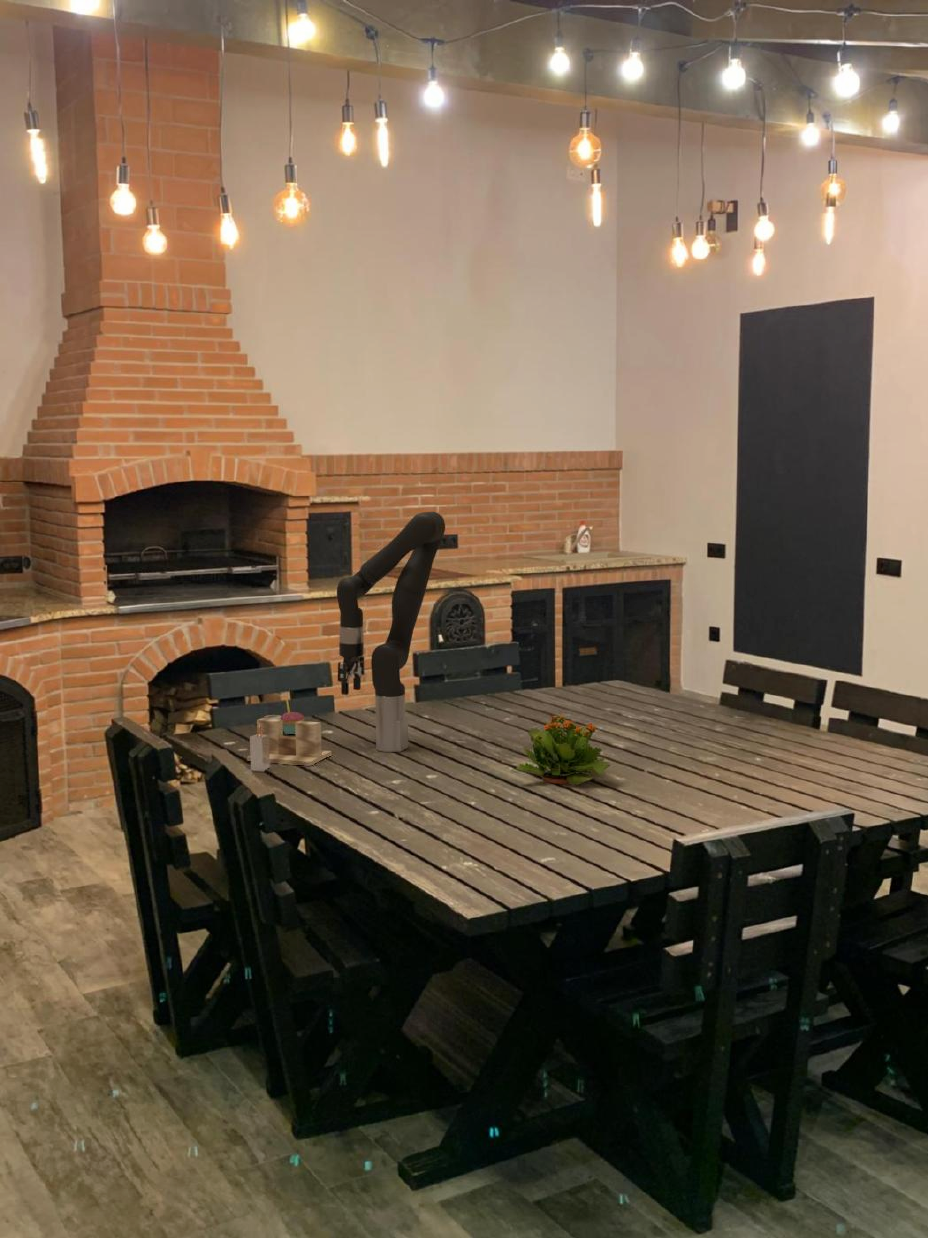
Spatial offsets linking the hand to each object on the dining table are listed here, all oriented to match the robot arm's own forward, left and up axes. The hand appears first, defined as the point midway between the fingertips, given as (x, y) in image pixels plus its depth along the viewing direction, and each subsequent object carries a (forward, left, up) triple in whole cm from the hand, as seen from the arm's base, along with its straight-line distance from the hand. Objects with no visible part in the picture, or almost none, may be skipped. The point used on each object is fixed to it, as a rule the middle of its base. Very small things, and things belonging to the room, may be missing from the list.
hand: (351, 692), depth 385 cm
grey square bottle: (+13, +35, -17) cm, 41 cm away
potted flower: (-72, +19, -17) cm, 77 cm away
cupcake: (+27, -10, -17) cm, 33 cm away
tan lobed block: (+11, +21, -17) cm, 29 cm away
